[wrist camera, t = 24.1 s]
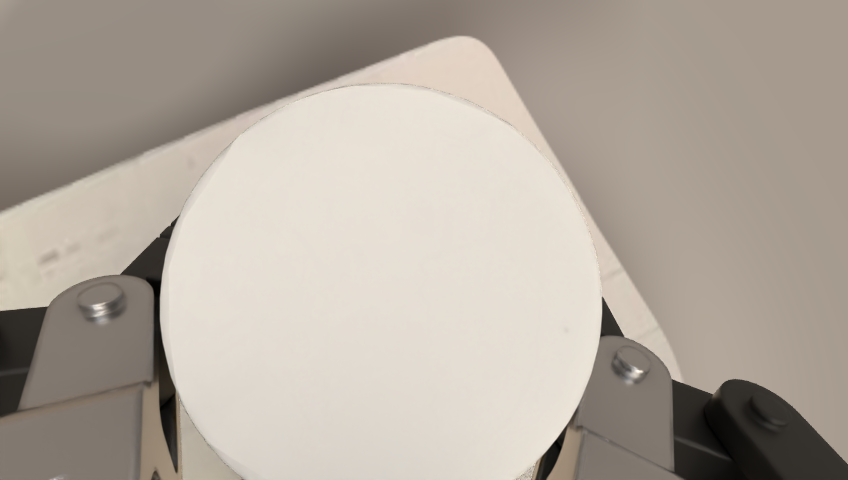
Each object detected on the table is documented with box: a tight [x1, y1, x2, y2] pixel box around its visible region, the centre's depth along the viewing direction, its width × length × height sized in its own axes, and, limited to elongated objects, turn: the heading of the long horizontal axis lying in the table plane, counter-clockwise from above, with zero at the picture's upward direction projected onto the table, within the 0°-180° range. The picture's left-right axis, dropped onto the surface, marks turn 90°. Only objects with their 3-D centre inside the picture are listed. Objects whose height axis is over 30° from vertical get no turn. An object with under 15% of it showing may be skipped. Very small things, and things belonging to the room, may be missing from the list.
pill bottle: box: [160, 83, 602, 480], centre depth 10 cm, size 6×6×11 cm
